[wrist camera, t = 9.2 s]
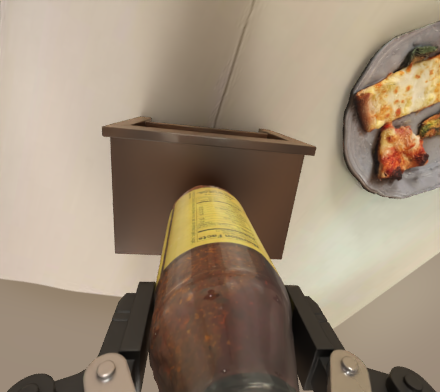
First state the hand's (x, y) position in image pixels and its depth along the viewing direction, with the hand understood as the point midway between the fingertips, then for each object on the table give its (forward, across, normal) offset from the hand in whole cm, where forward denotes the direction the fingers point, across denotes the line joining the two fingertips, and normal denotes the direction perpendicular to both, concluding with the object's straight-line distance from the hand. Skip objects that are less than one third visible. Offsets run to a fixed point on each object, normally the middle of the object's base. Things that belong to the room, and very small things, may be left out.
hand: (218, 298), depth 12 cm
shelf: (+26, 0, 0) cm, 26 cm away
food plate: (+27, -31, -10) cm, 42 cm away
